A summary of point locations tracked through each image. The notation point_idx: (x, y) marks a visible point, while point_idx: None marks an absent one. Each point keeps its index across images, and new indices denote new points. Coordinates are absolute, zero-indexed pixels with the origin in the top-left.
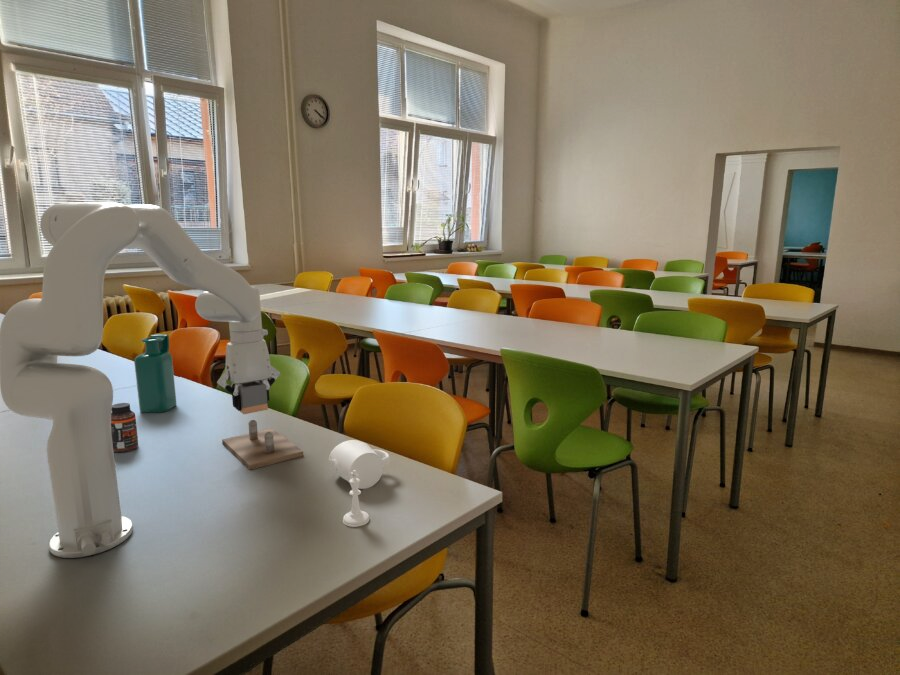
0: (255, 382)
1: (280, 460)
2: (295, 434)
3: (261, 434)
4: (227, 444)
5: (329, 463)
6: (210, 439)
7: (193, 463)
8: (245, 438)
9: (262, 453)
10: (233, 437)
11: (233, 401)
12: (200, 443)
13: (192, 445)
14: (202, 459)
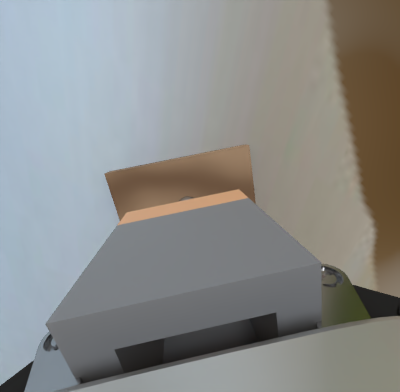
0: (272, 314)
1: None
2: (291, 185)
3: (211, 183)
4: (119, 218)
5: None
6: (72, 115)
7: (47, 266)
8: (167, 194)
9: None
10: (136, 171)
11: None
12: (45, 137)
13: (23, 143)
14: (65, 252)
